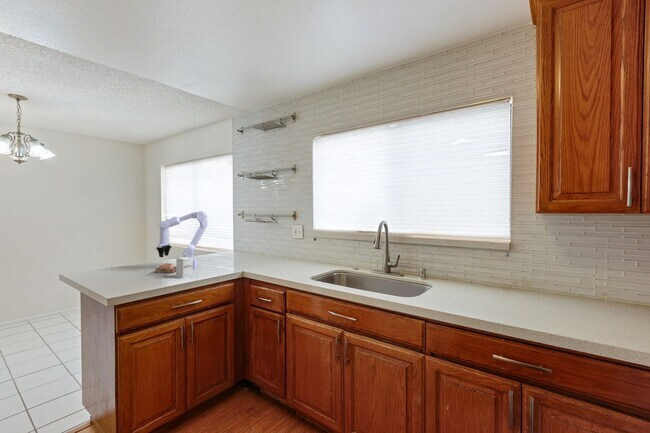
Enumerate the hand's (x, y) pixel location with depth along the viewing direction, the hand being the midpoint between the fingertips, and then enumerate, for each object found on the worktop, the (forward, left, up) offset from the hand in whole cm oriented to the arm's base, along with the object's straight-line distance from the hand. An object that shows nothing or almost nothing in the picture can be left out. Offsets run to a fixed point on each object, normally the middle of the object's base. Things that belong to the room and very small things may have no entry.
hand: (163, 256), depth 218 cm
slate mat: (-4, +12, -10) cm, 16 cm away
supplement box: (-23, +21, -10) cm, 33 cm away
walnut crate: (-6, +8, -10) cm, 14 cm away
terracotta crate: (-6, +8, -9) cm, 13 cm away
